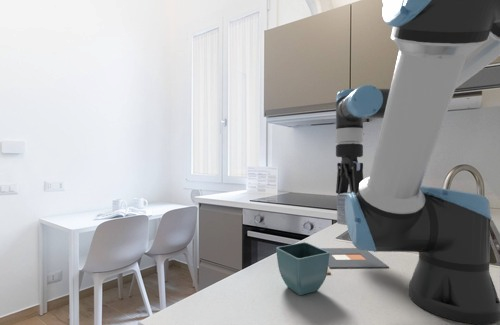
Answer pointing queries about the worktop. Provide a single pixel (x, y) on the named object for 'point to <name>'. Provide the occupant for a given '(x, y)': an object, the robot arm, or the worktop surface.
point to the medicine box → (341, 208)
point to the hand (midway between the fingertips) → (349, 220)
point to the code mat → (352, 258)
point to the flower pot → (302, 266)
